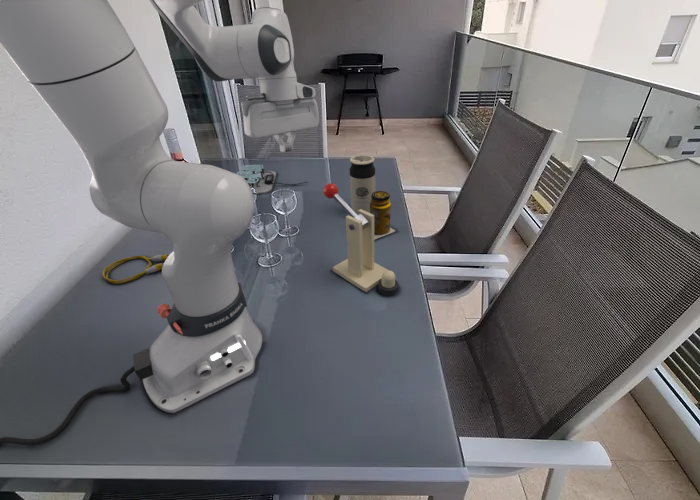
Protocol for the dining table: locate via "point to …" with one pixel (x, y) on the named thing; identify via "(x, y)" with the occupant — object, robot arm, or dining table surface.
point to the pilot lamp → (388, 284)
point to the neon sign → (259, 178)
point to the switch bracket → (360, 254)
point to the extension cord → (147, 270)
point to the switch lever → (343, 203)
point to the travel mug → (361, 182)
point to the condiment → (381, 213)
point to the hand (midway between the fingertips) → (287, 151)
